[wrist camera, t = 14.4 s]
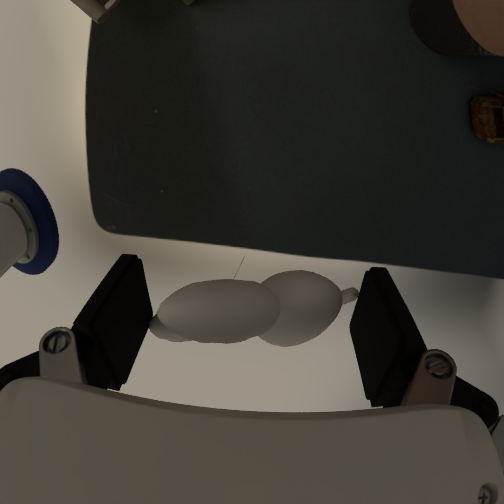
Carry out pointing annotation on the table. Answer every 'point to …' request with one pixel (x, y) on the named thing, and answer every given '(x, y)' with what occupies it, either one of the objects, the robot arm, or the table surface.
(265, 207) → the table surface
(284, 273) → the rabbit figurine
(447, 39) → the travel mug
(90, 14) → the drawer
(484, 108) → the toy car
